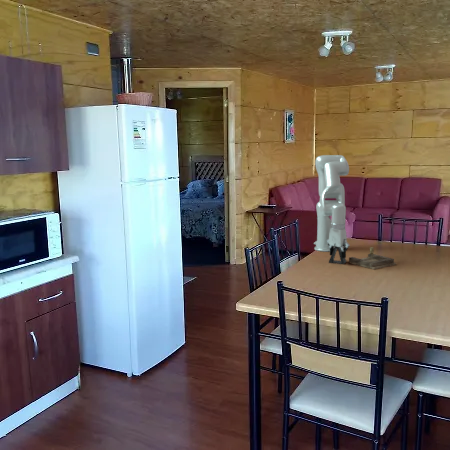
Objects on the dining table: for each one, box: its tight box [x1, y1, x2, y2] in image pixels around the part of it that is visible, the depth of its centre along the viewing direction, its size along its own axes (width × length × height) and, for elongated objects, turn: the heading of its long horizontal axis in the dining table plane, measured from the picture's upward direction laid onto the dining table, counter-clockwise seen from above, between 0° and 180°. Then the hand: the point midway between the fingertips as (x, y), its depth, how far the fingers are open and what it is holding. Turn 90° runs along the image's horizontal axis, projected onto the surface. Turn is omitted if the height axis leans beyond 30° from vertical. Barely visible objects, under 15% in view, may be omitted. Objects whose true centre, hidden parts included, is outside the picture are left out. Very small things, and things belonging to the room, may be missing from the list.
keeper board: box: [348, 246, 397, 270], centre depth 266 cm, size 18×18×7 cm
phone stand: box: [328, 243, 347, 265], centre depth 269 cm, size 9×6×12 cm, turn 66°
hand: (337, 256), depth 270 cm, fingers open, 8 cm apart
